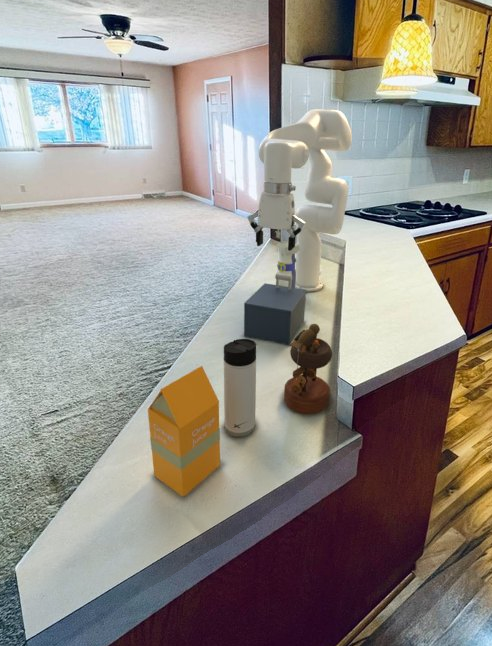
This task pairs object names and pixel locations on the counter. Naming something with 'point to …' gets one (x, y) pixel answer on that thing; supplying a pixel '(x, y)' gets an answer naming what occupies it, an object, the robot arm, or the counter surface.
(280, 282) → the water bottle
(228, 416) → the travel mug
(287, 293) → the lid
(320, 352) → the music box
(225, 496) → the counter surface
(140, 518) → the counter surface
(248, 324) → the box
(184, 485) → the orange juice
